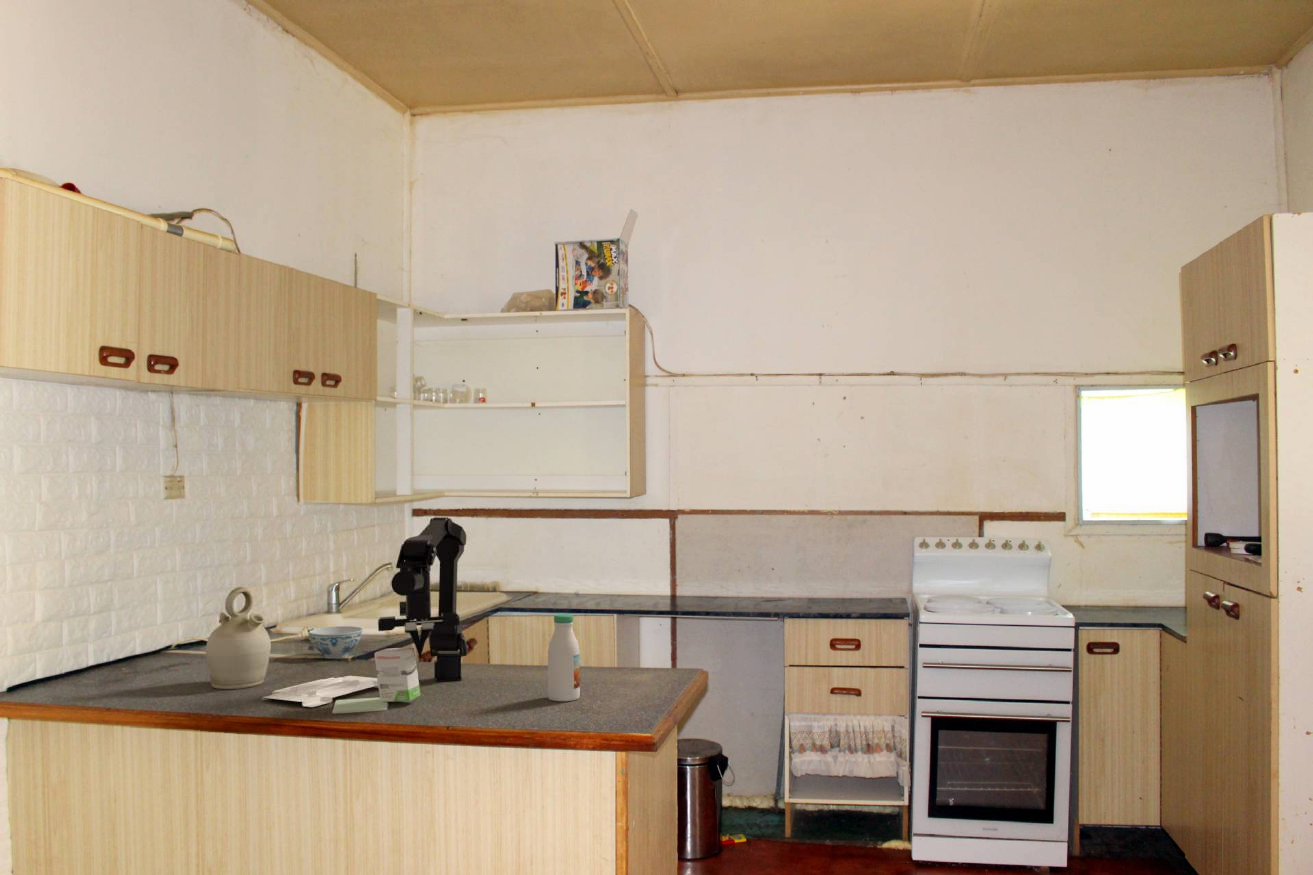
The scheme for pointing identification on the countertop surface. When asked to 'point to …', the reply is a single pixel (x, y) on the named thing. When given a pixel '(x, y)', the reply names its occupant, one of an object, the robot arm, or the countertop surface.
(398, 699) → the ink box
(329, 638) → the chinaware
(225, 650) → the jug
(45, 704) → the countertop surface
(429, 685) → the countertop surface
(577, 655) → the milk bottle
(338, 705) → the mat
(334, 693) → the tray
